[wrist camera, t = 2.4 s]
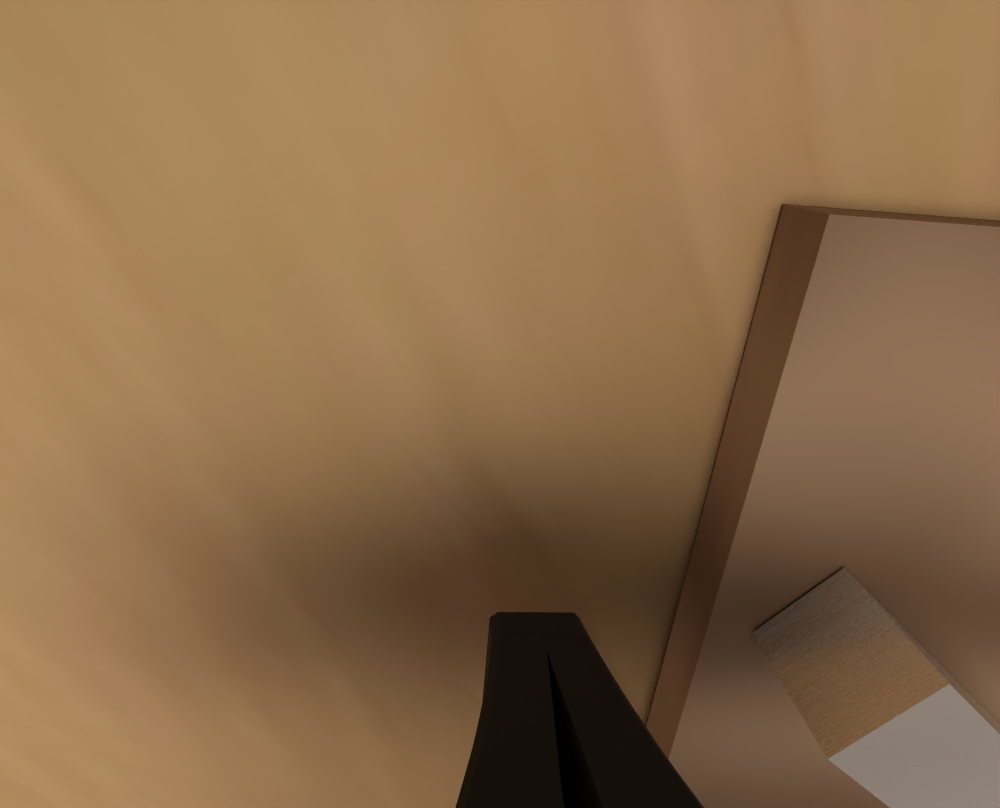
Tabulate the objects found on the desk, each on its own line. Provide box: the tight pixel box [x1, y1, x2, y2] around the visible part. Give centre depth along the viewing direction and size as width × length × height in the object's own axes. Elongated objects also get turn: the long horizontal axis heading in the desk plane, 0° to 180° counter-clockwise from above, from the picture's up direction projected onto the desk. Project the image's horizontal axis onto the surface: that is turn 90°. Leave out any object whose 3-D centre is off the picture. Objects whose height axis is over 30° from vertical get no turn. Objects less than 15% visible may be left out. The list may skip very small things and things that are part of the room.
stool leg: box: [752, 567, 1000, 808], centre depth 11 cm, size 9×2×3 cm, turn 46°
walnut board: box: [646, 204, 1000, 808], centre depth 11 cm, size 15×10×3 cm, turn 176°
